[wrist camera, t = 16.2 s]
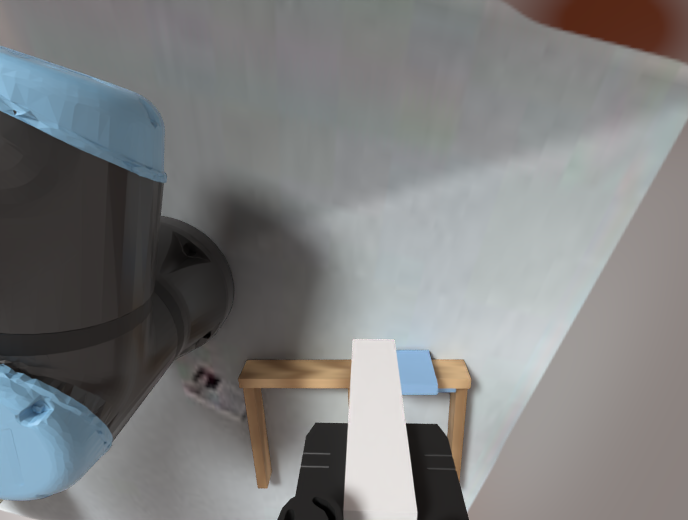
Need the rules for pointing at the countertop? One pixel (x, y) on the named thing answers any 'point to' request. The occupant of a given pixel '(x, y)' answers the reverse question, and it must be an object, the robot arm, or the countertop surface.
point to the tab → (416, 372)
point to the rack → (336, 375)
